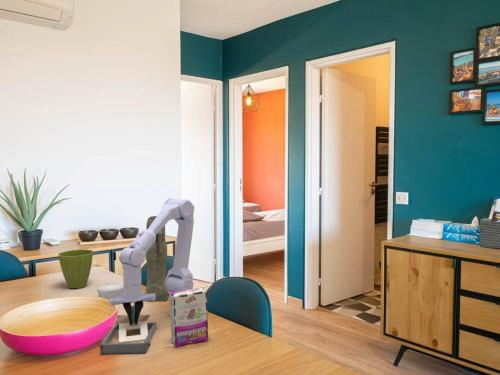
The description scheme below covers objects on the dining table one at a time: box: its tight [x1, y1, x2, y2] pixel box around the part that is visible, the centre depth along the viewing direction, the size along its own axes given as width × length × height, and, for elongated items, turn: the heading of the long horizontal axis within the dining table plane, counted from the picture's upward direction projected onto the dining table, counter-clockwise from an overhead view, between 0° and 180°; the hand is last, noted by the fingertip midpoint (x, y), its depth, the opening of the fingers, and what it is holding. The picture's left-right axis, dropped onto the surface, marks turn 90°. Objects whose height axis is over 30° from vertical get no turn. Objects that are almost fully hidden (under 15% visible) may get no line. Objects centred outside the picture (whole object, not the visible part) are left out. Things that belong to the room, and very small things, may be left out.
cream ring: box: [118, 305, 149, 343], centre depth 140 cm, size 12×9×5 cm
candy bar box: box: [169, 287, 209, 348], centre depth 137 cm, size 11×5×16 cm, turn 117°
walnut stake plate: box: [114, 314, 151, 326], centre depth 152 cm, size 14×12×1 cm
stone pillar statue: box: [145, 215, 169, 303], centre depth 177 cm, size 9×12×35 cm
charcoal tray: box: [99, 321, 157, 355], centre depth 137 cm, size 14×17×3 cm
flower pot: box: [57, 249, 94, 289], centre depth 198 cm, size 15×15×16 cm
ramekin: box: [96, 282, 124, 301], centre depth 181 cm, size 11×11×5 cm
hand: (133, 324), depth 142 cm, fingers closed on cream ring
